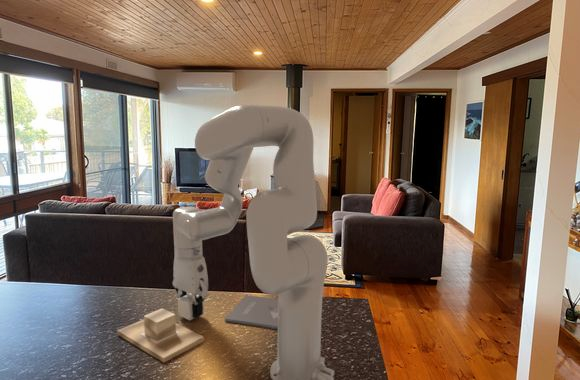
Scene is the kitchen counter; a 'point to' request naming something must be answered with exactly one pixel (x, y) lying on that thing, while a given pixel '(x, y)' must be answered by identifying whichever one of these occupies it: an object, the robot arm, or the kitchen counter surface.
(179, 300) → the white cube
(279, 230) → the robot arm
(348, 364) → the kitchen counter surface
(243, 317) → the play button award
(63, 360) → the kitchen counter surface
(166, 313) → the maple block
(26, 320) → the kitchen counter surface
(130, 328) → the base board
